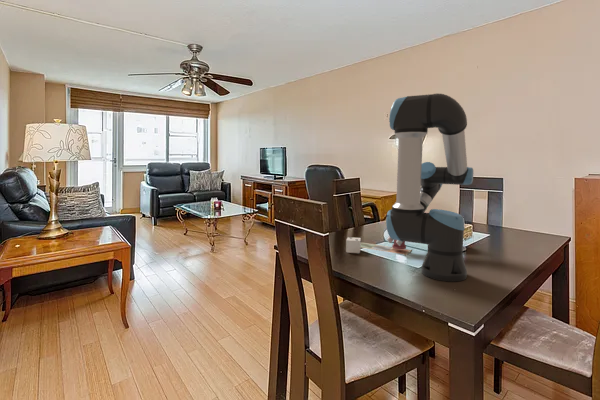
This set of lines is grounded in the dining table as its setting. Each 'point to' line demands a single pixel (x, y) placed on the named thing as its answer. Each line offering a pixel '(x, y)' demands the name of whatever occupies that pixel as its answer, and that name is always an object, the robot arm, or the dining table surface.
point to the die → (353, 245)
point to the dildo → (398, 245)
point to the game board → (385, 248)
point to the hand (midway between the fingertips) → (393, 242)
